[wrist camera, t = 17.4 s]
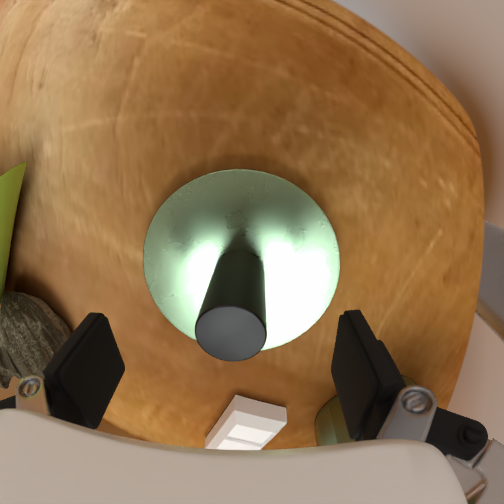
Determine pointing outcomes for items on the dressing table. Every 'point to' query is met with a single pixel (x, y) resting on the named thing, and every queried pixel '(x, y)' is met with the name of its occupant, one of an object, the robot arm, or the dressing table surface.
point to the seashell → (28, 336)
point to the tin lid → (241, 262)
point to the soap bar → (246, 425)
